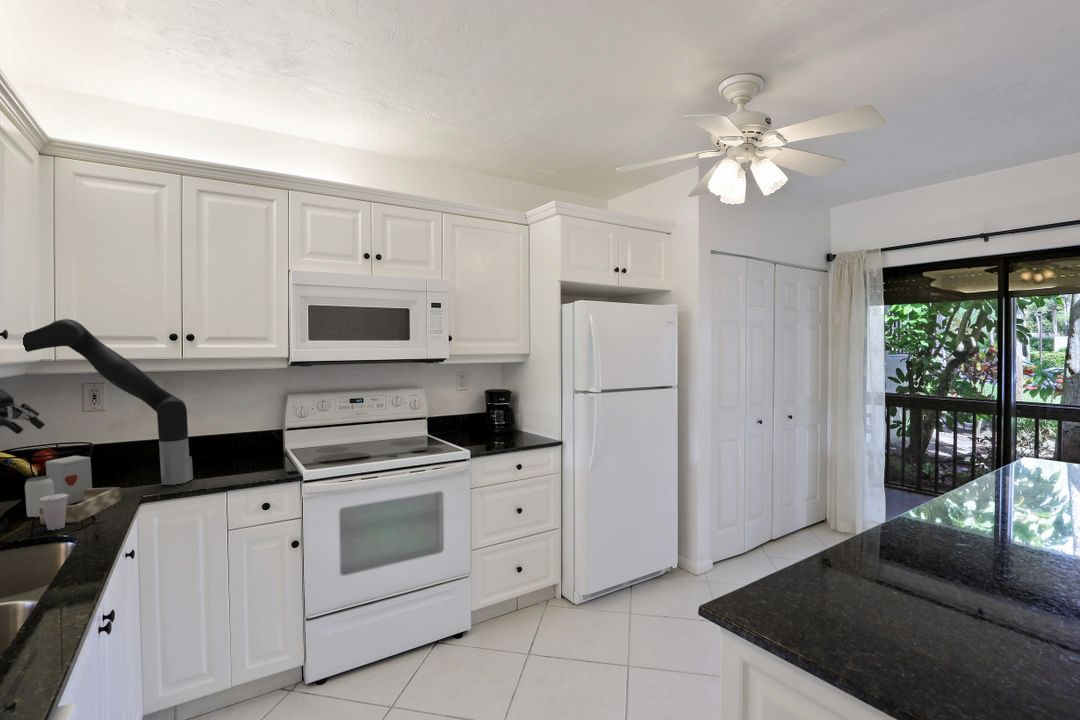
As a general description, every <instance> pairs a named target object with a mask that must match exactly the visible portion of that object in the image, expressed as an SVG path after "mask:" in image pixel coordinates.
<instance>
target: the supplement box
mask: <svg viewBox="0 0 1080 720" xmlns="http://www.w3.org/2000/svg"><path fill="white" fill-rule="evenodd" d="M91 462H92V460H91V457H90V456H82V455H72V456H71V455H70V456H67V457H62V458H57V459H51V460H46V461H45V469H46V470H45V472H46V475H45V476H50V478H51V480H52V482H53V486H54V495H55V494H68V497H69V498H68V499H67V505H73V504H75V503H76V504H77V503H81V502H83V501H84V490H85V489H91V488H93V482H92V481H93V478H92V463H91ZM67 505H66V506H67Z"/></svg>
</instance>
